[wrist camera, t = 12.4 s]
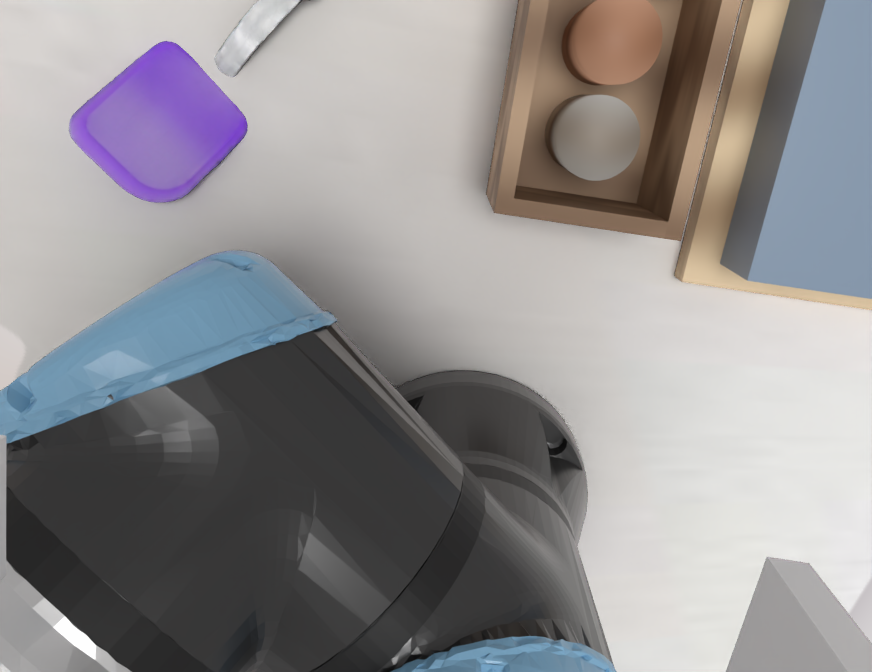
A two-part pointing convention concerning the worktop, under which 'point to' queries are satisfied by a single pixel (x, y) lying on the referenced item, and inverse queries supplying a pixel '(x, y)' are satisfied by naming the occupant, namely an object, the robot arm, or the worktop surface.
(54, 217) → the worktop surface
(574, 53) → the walnut spice box
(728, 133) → the oak cutting board
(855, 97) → the slate lid
